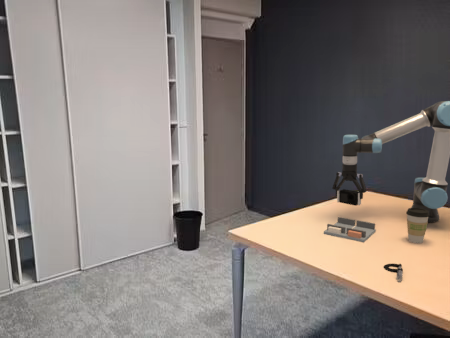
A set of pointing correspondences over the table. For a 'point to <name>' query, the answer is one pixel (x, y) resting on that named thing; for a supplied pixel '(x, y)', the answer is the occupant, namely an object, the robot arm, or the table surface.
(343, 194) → the digital camera
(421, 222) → the coffee cup
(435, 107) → the robot arm
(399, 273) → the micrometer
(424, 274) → the table surface
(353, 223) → the docking board
